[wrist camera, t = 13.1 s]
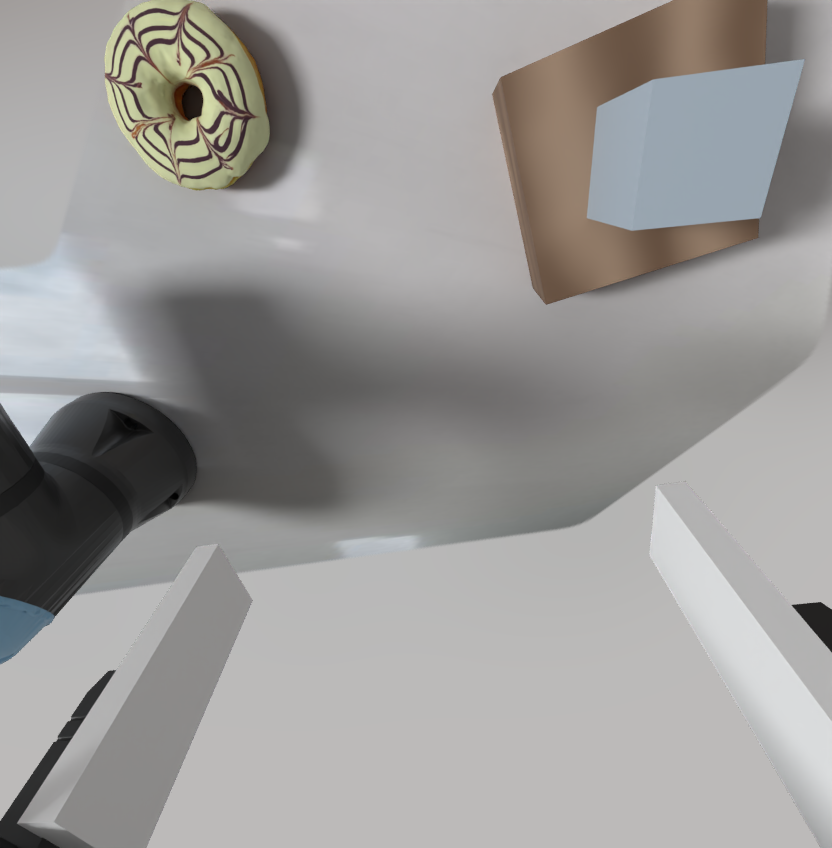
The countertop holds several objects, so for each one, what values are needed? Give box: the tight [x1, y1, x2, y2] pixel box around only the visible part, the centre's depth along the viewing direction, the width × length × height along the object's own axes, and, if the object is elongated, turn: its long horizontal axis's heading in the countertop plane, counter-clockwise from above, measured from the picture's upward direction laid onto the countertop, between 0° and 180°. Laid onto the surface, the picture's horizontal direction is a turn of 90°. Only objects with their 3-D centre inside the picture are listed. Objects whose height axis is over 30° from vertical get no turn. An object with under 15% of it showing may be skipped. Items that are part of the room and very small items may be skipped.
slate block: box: [587, 59, 805, 231], centre depth 23 cm, size 6×6×8 cm
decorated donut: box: [104, 0, 270, 190], centre depth 30 cm, size 10×11×4 cm
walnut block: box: [492, 0, 767, 305], centre depth 29 cm, size 14×14×6 cm
